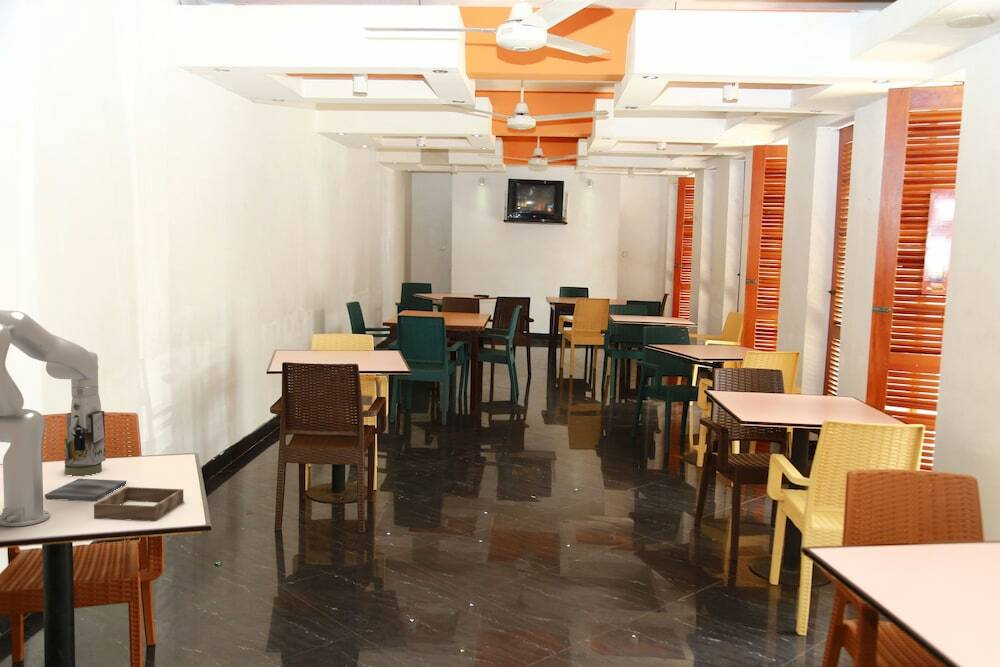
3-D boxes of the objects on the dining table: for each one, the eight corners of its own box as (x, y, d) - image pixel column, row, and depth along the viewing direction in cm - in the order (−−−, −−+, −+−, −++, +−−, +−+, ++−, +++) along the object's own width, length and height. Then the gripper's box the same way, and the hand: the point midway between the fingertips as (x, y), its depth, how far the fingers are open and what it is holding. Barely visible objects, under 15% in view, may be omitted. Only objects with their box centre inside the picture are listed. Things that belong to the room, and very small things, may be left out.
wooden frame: (155, 520, 229) (155, 507, 229) (94, 518, 230) (93, 504, 230) (183, 502, 247) (183, 489, 247) (126, 499, 248) (126, 486, 248)
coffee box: (106, 460, 257) (105, 410, 256) (94, 465, 251) (93, 414, 249) (79, 458, 258) (78, 409, 256) (66, 464, 252) (65, 413, 250)
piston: (92, 433, 284) (106, 438, 277) (93, 466, 286) (107, 472, 278) (58, 437, 276) (72, 443, 269) (59, 472, 277) (73, 478, 270)
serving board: (95, 501, 246) (95, 496, 246) (45, 499, 247) (44, 494, 246) (126, 485, 264) (126, 480, 263) (78, 483, 264) (78, 478, 264)
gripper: (80, 396, 243) (82, 454, 245) (111, 387, 261) (112, 441, 262) (56, 395, 244) (58, 453, 245) (88, 386, 261) (90, 440, 263)
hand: (86, 446), depth 254 cm, fingers closed on coffee box, 6 cm apart
